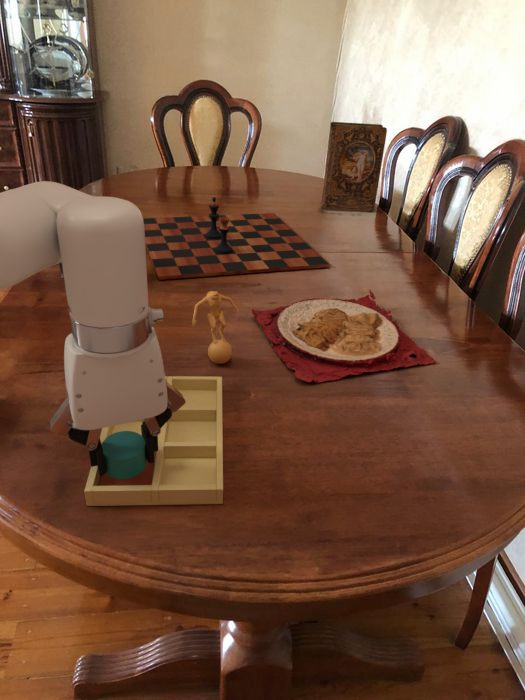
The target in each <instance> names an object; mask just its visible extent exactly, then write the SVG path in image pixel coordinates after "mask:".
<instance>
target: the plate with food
mask: <svg viewBox="0 0 525 700" xmlns="http://www.w3.org/2000/svg"><path fill="white" fill-rule="evenodd" d="M368 292H369V294H368V295H365V296H363V297H359V298H357V299H356V298H349V299H347V298H345V299H342V298H338V297H337V298H322V297H321V298H318V297H317V298H306V299H301V300H298V301H295V302H293V303H292V304H289V305H288V304H287V305H284V306H282V305H281V306H278V307H276V308H274V309H265V310H258V309H257V310H255V308H252V309H251V313H252V314H253V316H254V318H256V321H257V323H258V324H259V325H261V327H262V331H263V332H264V333H265V336H266V337H267V338H268V339H269V342H271V343H270V346H271V347H272V349H273V351H274V352H275V353H276V355H277V357H278V359H280V361H281V362H283V363H284V364H285V366H286V367H287V368H288V369H290V370H293V371H295V372H294V376H295V377H296V378H297V379H299V380H301V381H304V382H307V383H308V384H309V383H311V382H315V384H318V383H319V384H320V383H324V382H329V381H336V380H342V379H343V378H344V377H347V376H349V375H350V376H356V375H363V373H373V372H379V371H390V370H394V369H398V368H400V367H403V368H408V367H412V366H417V365H419V366H421V365H424V366H426V365H429V364H430V365H431V364H433V363H437V360H435V359H434V358H433V357H432V356H431V355H430V354H428V353H427V351H426V349H424V348H421V347H420V346H418V344H416V343H415V341H414V340H412V339H411V338H410V337H409V336H408V335H407V334H406V333H405V332H403V330H401V329H400V326H398V323H397V321H396V320H393V315H392V314H391V313H392V311H391V310H388V311H386V310H385V309H383V308H380V307H379V306H378V305H377V302H376V296H375V295H374V293H373V292H372V290H371V289H369V290H368ZM411 355H415V357H412V356H411Z"/></svg>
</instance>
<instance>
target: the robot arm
mask: <svg viewBox="0 0 525 700" xmlns="http://www.w3.org/2000/svg"><path fill="white" fill-rule="evenodd" d="M143 218H144V216H143V213H142V211H141V210H140V209H139V207H138V206H137V205H136V204H134V203H133V202H131V201H130V200H127V199H123V198H120V197H115V196H106V195H105V196H101V195H100V196H99V195H97V196H94V195H92V194H88V193H86V192H83V191H81V190H78V189H75V188H73V187H71V186H68V185H66V184H63V183H60V182H55V181H49V180H43V181H42V180H41V181H36V182H31V183H28V184H25V185H21V186H19V187H16V188H11V189H8V190H4V191H1V192H0V291H2V290H7V289H9V288H11V287H13V286H15V285H18V284H19V283H22V282H23V281H26V280H27V279H29V278H30V277H32V276H34V275H36V274H38V273H40V272H42V271H44V270H45V269H48V268H49V267H52V266H56V265H59V263H62V267H63V274H64V279H63V280H64V286H65V287H64V288H65V295H66V301H67V308H68V314H69V315H68V316H69V323H70V327H71V328H70V329H71V333H69V334H68V335H66V338H65V340H64V350H63V368H64V379H65V380H64V381H65V391H66V398H65V399H64V401H63V402H62V403H61V404H60V406H59V407H58V409H57V410H56V411H55V412H54V413H53V415H52V417H51V418H50V419H49V421H48V422H49V423H48V425H49V430H50V431H49V432H51V433H53V434H56V435H58V436H62V437H68V438H69V439H70V440H71V441H73V442H76V443H78V444H80V445H82V446H84V447H85V448H86V449H85V450H87V452H88V458H89V463H90V468H91V467H93V466H97V467H98V471H99V475H100V476H102V475H104V474H105V473H106V470H105V462H104V454H103V448H102V444H101V441H100V435H101V432H102V428H105V427H110V426H114V425H119V424H124V423H128V422H133V421H137V420H142V419H144V422H142V425H141V433H142V437H143V438H144V440H145V443H146V457H147V461H148V463H150V464H151V463H154V462H155V460H154V452H156V451H158V435H159V434H160V432H161V428H162V427H163V425H164V424H165V423H166V422H167V421H168V420H169V419H170V418H171V417H172V414H173V413H175V412H176V411H177V410H178V409H180V408H181V407H182V406H183V405H184V404H185V399H184V397H183V395H182V394H181V393H180V392H179V391H178V390H176V389H175V388H174V387H173V386H172V385H170V384H169V383H168V382H167V381H166V379H165V376H166V372H165V366H164V359H163V354H162V349H161V346H160V342H159V339H158V336H157V332H156V329H155V327H154V324H155V325H156V324H157V323H158V322H159V323H160V322H164V321H165V320H164V319H165V315H164V312H163V308H155V307H151V306H150V305H149V289H148V287H149V286H148V270H147V267H148V266H147V253H146V252H147V248H146V245H145V232H144V221H143ZM71 419H72V422H71V421H70V420H71Z"/></svg>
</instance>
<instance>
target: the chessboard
mask: <svg viewBox="0 0 525 700" xmlns="http://www.w3.org/2000/svg"><path fill="white" fill-rule="evenodd" d="M211 200H212V201H211V202H210V204H209V205H208V208H209V209H210V212H211V213H209V214H208V215H194V216H193V215H192V216H171V217H169V216H168V217H167V216H166V217H143V221H144V232H145V249H146V251H147V253H148V255H149V258H150V261H151V263H152V266H153V269H154V272H155V274H156V276H157V279H158V281H161V280H177V279H188V278H203V277H215V276H230V275H241V274H243V275H244V274H255V273H267V272H268V273H269V272H281V271H294V270H311V269H321V268H330V263H329V262H328V261H327V260H326V259H325V258H323V257H322V256H321V255H320V254H319V253H318V252H317V251H316V250H315V249H313V248H312V247H311V245H309V244H308V242H306V241H305V240H304V239H303V238H302V237H300V236H299V234H297V233H296V232H295V231H294V230H293V229H292V228H291V227H290V226H289V225H287V223H286V222H284V221H283V220H282V218H280V217H279V216H278V215H277V214H276V213H275V212H269V213H268V212H267V213H266V212H265V213H245V214H243V213H242V214H219V213H217V212H218V211H219V208H220V206H219V204H218V202H217V200H216V197H212V198H211Z"/></svg>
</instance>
